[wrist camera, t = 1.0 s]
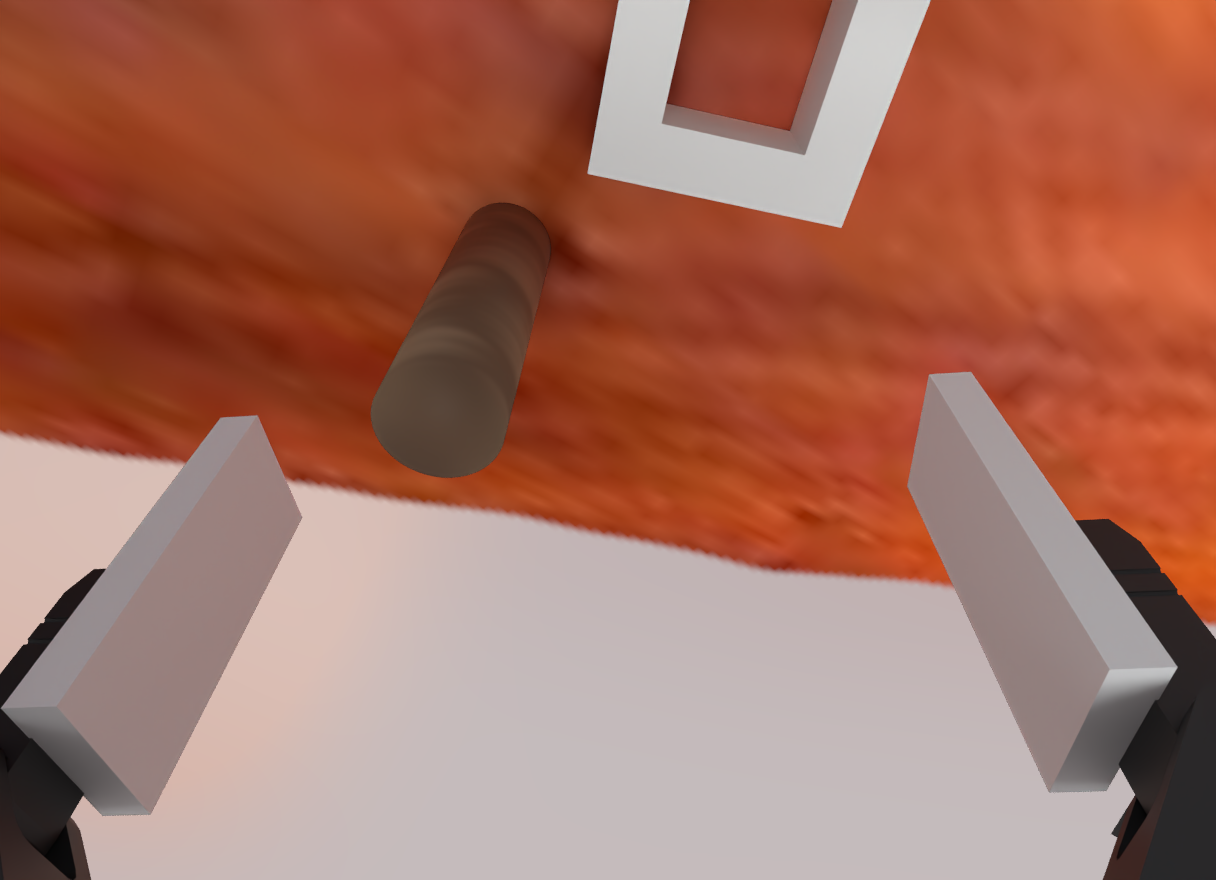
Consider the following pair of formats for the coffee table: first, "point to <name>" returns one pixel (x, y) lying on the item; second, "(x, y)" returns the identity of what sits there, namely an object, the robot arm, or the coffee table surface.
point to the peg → (466, 348)
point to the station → (744, 151)
